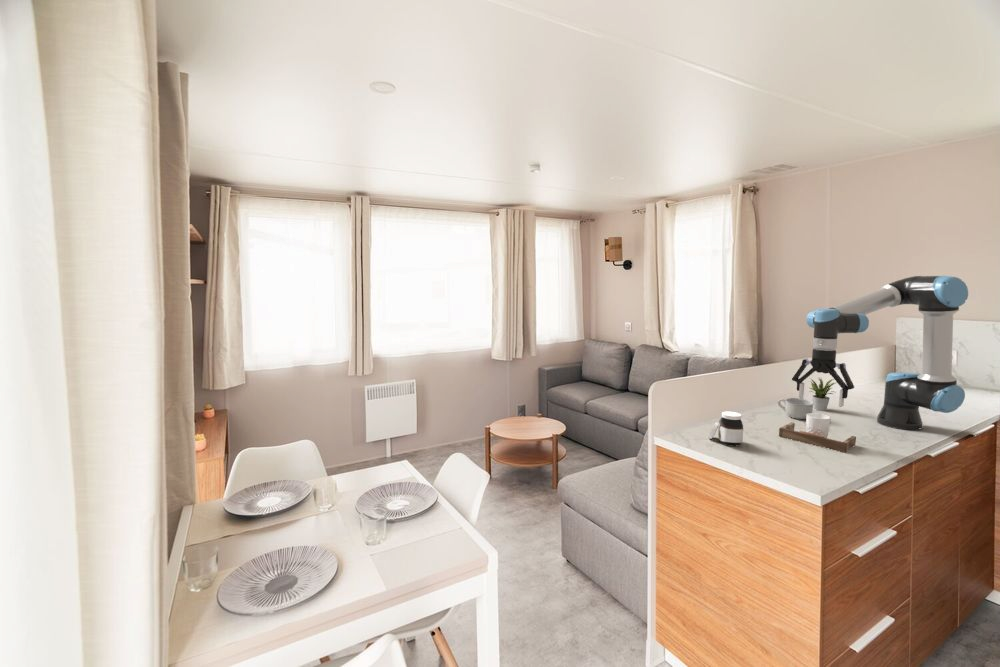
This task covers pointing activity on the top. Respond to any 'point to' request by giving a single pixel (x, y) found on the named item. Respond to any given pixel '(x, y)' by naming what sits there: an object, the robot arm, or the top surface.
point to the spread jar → (729, 429)
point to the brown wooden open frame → (816, 439)
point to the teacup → (797, 407)
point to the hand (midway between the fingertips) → (820, 402)
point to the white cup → (817, 424)
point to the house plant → (821, 395)
